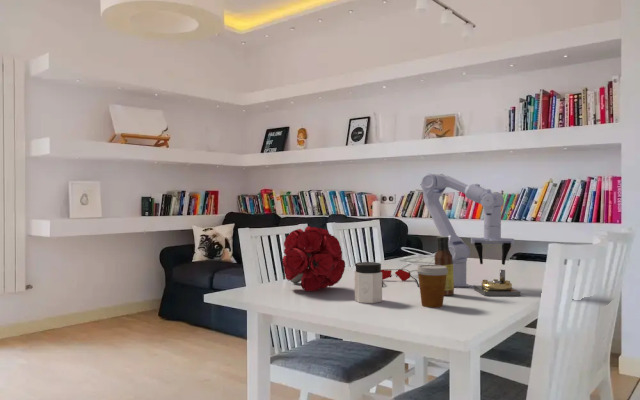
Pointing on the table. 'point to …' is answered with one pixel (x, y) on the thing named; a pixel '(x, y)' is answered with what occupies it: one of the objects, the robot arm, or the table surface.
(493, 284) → the gold round piece
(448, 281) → the sauce bottle
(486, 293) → the base plate
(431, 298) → the disposable coffee cup
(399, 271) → the glasses
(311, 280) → the bouquet
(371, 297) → the jar
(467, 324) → the table surface
